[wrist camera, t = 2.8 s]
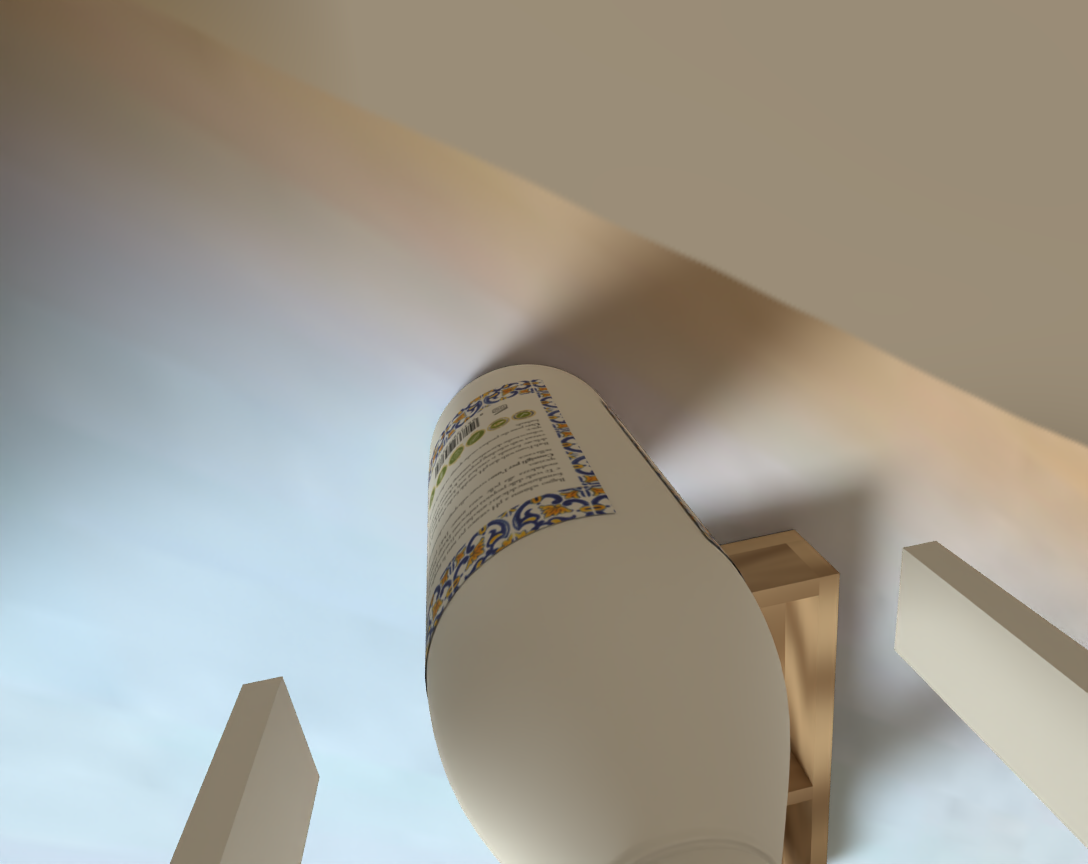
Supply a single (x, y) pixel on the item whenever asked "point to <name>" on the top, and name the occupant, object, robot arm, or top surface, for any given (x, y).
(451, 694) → the bath foam
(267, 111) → the top surface
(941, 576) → the robot arm
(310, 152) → the top surface
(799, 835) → the caddy
